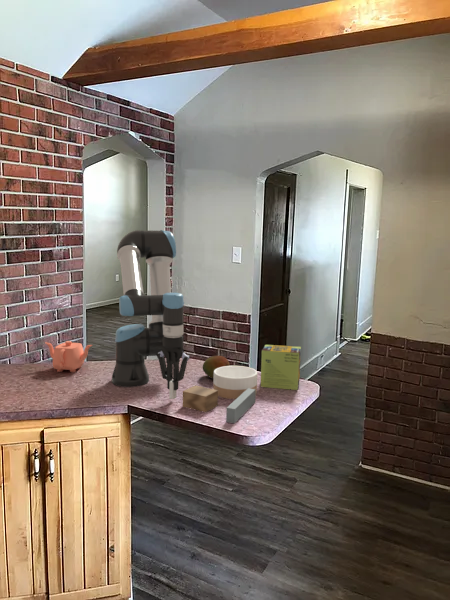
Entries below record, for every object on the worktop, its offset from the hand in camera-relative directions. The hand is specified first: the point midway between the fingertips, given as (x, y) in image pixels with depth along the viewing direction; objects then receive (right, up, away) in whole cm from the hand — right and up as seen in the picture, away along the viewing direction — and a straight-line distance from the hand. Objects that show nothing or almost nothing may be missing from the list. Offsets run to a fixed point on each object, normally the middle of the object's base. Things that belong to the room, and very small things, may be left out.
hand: (172, 397), depth 191 cm
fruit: (+15, +3, +30) cm, 33 cm away
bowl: (+23, 0, +13) cm, 26 cm away
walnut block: (+10, -2, -4) cm, 11 cm away
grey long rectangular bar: (+25, -3, -8) cm, 27 cm away
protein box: (+42, +1, +22) cm, 48 cm away
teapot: (-50, +5, +38) cm, 63 cm away
